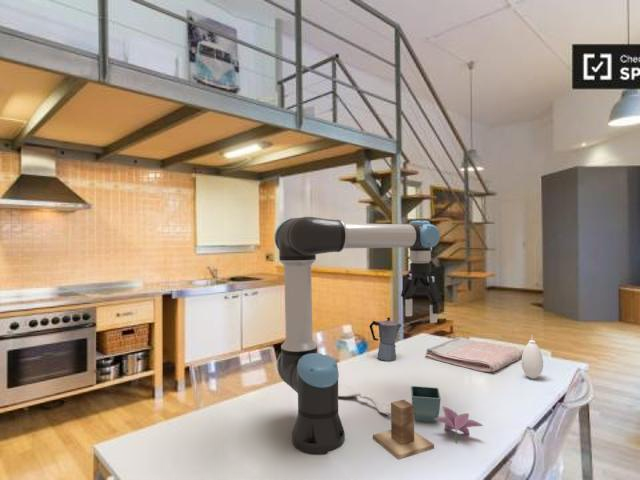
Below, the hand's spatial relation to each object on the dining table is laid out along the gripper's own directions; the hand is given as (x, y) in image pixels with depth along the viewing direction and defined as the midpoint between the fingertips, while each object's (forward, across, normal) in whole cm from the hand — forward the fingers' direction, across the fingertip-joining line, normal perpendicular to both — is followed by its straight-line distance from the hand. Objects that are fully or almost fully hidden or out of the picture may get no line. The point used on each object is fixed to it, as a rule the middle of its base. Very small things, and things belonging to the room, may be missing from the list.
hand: (420, 319), depth 146 cm
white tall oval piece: (+28, -8, -51) cm, 59 cm away
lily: (+28, -30, +13) cm, 43 cm away
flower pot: (+28, -17, +13) cm, 35 cm away
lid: (+27, -26, +29) cm, 47 cm away
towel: (+28, +23, -52) cm, 64 cm away
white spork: (+28, +3, +24) cm, 37 cm away
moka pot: (+28, +41, -13) cm, 51 cm away
